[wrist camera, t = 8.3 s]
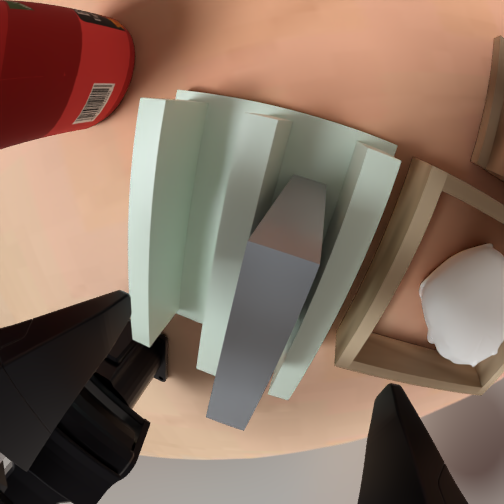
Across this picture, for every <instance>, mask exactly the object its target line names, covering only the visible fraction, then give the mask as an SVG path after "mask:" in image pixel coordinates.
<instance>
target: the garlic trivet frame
mask: <svg viewBox="0 0 504 504" xmlns="http://www.w3.org/2000/svg"><path fill="white" fill-rule="evenodd" d="M442 191H443V192H445V193H448V194H450V195H452V196H454V197H455V198H457V199H459V200H461V201H463V202H465V203H467V204H469V205H471V206H473V207H474V208H476V209H478V210H480V211H482V212H483V213H485V214H487V215H489V216H490V217H492V218H494V219H495V220H497V221H499V222H501V223H502V224H504V205H503V204H501V203H500V202H498V201H496V200H495V199H493V198H492V197H490V196H488V195H487V194H485V193H483V192H482V191H480V190H478V189H476V188H475V187H473V186H471V185H469V184H467V183H466V182H464V181H462V180H460V179H458V178H456V177H454V176H453V175H451V174H449V173H447V172H445V171H443V170H441V169H439V168H437V167H435V166H432V165H430V164H428V163H426V162H424V161H422V160H420V159H417V158H415V157H413V158H412V161H411V164H410V167H409V170H408V173H407V176H406V179H405V182H404V185H403V187H402V190H401V193H400V195H399V198H398V201H397V203H396V206H395V209H394V211H393V214H392V216H391V219H390V221H389V224H388V226H387V229H386V231H385V233H384V236H383V238H382V240H381V243H380V245H379V247H378V250H377V252H376V254H375V256H374V258H373V261H372V263H371V265H370V267H369V269H368V271H367V274H366V276H365V278H364V280H363V282H362V284H361V286H360V288H359V290H358V292H357V294H356V296H355V298H354V300H353V302H352V304H351V306H350V308H349V310H348V312H347V314H346V315H345V317H344V319H343V321H342V323H341V325H340V327H339V328H338V330H337V332H336V349H335V365H334V366H336V367H340V368H344V369H347V370H351V371H355V372H359V373H363V374H367V375H371V376H376V377H380V378H384V379H389V380H393V381H398V382H403V383H407V384H412V385H417V386H423V387H428V388H434V389H439V390H445V391H452V392H458V393H465V394H472V395H480V396H481V395H483V394H484V393H485V392H486V390H487V389H488V388H489V387H490V386H491V385H492V384H493V383H494V382H495V381H496V380H497V379H498V378H499V377H500V375H501V374H502V373H503V372H504V341H503V342H502V343H501V345H500V346H499V348H498V353H497V354H495V355H492V356H490V357H488V358H486V359H484V360H483V361H481V362H479V363H477V365H475V366H474V367H472V365H469V364H455V363H453V362H452V361H450V360H449V359H446V358H444V357H443V356H442V355H440V354H439V352H438V351H437V350H433V349H429V348H425V347H422V346H418V345H414V344H410V343H407V342H403V341H399V340H396V339H392V338H389V337H385V336H382V335H378V334H375V333H371V332H372V331H373V329H374V328H375V326H376V324H377V323H378V321H379V319H380V318H381V316H382V314H383V313H384V311H385V309H386V308H387V306H388V304H389V302H390V301H391V299H392V297H393V295H394V293H395V292H396V290H397V288H398V286H399V284H400V282H401V280H402V279H403V277H404V275H405V273H406V271H407V269H408V267H409V265H410V263H411V261H412V259H413V257H414V255H415V253H416V251H417V248H418V246H419V244H420V242H421V240H422V238H423V235H424V233H425V231H426V229H427V226H428V224H429V222H430V219H431V217H432V214H433V212H434V210H435V207H436V205H437V202H438V199H439V197H440V194H441V192H442Z"/></svg>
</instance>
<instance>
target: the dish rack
mask: <svg viewBox="0 0 504 504" xmlns="http://www.w3.org/2000/svg"><path fill="white" fill-rule="evenodd" d="M397 146H398V145H395V144H393V143H390V142H388V141H385V140H383V139H380V138H378V137H375V136H373V135H370V134H367V133H364V132H362V131H359V130H356V129H353V128H350V127H347V126H344V125H341V124H338V123H335V122H332V121H329V120H325V119H322V118H319V117H315V116H312V115H308V114H305V113H301V112H297V111H293V110H290V109H286V108H281V107H277V106H273V105H269V104H264V103H259V102H255V101H250V100H245V99H239V98H234V97H228V96H222V95H216V94H209V93H202V92H194V91H185V90H177V94H176V99H163V98H140V103H139V110H138V116H137V123H136V131H135V139H134V147H133V157H132V167H131V180H130V195H129V218H128V277H129V295H130V296H131V310H132V313H131V327H132V338H133V340H135V341H137V342H139V343H141V344H143V345H145V346H147V347H149V348H150V346H151V345H152V344H153V343H154V341H155V340H156V339H157V337H158V336H159V335H160V333H161V332H162V331H163V329H164V328H165V327H166V325H167V324H168V323H169V322H170V320H171V319H172V318H173V316H174V315H175V314H179V315H181V316H184V317H186V318H189V319H191V320H194V321H196V322H199V323H201V324H203V325H202V331H201V338H200V345H199V352H198V359H197V366H196V369H199V370H201V371H204V372H206V373H209V374H211V375H214V376H216V371H217V367H218V363H219V359H220V354H221V350H222V346H223V341H224V337H225V333H226V329H227V324H228V320H229V316H230V312H231V308H232V303H233V299H234V295H235V291H236V287H237V282H238V278H239V274H240V270H241V266H242V261H243V257H244V253H245V249H246V245H247V241H248V239H249V238H250V236H251V235H252V233H253V232H254V231H255V229H256V228H257V226H258V225H259V223H260V222H261V220H262V219H263V218H264V216H265V215H266V213H267V212H268V210H269V209H270V208H271V206H272V205H273V203H274V202H275V200H276V199H277V198H278V196H279V195H280V193H281V192H282V190H283V189H284V188H285V186H286V185H287V183H288V182H289V180H290V179H291V178H292V176H293V175H294V174H295V175H298V176H301V177H305V178H308V179H311V180H314V181H317V182H320V183H323V184H326V201H325V215H324V227H323V239H322V249H321V259H320V266H319V268H318V271H317V273H316V276H315V278H314V281H313V283H312V286H311V288H310V291H309V293H308V295H307V298H306V300H305V303H304V305H303V307H302V310H301V312H300V314H299V317H298V319H297V321H296V324H295V326H294V328H293V330H292V333H291V335H290V337H289V339H288V342H287V344H286V346H285V348H284V350H283V353H282V355H281V357H280V359H279V361H278V363H277V366H276V368H275V371H274V374H273V378H272V381H271V384H270V388H269V391H268V394H269V395H272V396H275V397H278V398H282V399H285V400H289V398H290V397H291V395H292V393H293V392H294V390H295V389H296V387H297V385H298V384H299V382H300V380H301V379H302V377H303V376H304V374H305V372H306V370H307V369H308V367H309V365H310V364H311V362H312V360H313V358H314V357H315V355H316V353H317V351H318V350H319V348H320V346H321V344H322V342H323V341H324V339H325V337H326V335H327V333H328V331H329V329H330V328H331V326H332V324H333V322H334V320H335V318H336V316H337V314H338V312H339V310H340V308H341V306H342V304H343V302H344V300H345V298H346V296H347V294H348V292H349V290H350V288H351V286H352V284H353V282H354V279H355V277H356V275H357V273H358V271H359V269H360V266H361V264H362V262H363V260H364V257H365V255H366V253H367V251H368V248H369V246H370V244H371V241H372V239H373V236H374V234H375V232H376V229H377V227H378V224H379V222H380V219H381V217H382V214H383V212H384V209H385V206H386V204H387V201H388V198H389V196H390V193H391V190H392V187H393V185H394V182H395V179H396V176H397V173H398V170H399V167H400V164H401V160H399V159H397V158H395V157H394V155H395V152H396V149H397Z"/></svg>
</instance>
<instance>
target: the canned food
mask: <svg viewBox="0 0 504 504" xmlns="http://www.w3.org/2000/svg"><path fill="white" fill-rule="evenodd" d="M134 61H135V51H134V44H133V40H132V37H131V35H130V34H129V32H128V30H126V29H125V28H124V27H123V26H122V25H121V24H120V23H119V22H118V21H116V20H114V19H112V18H109V17H106V16H102V15H98V14H94V13H90V12H86V11H81V10H77V9H72V8H67V7H61V6H55V5H49V4H42V3H34V2H24V1H10V0H0V149H3V148H6V147H10V146H13V145H16V144H20V143H23V142H27V141H31V140H35V139H39V138H43V137H47V136H51V135H56V134H61V133H65V132H70V131H76V130H81V129H87V128H89V127H91V126H94V125H96V124H97V123H99V122H101V121H102V120H104V119H105V118H106V117H108V116H109V115H110V114H111V113H112V112H113V111H114V110H115V109H116V108H117V106H118V105H119V103H120V102H121V100H122V99H123V97H124V95H125V93H126V91H127V89H128V86H129V83H130V81H131V78H132V73H133V69H134Z"/></svg>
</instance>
